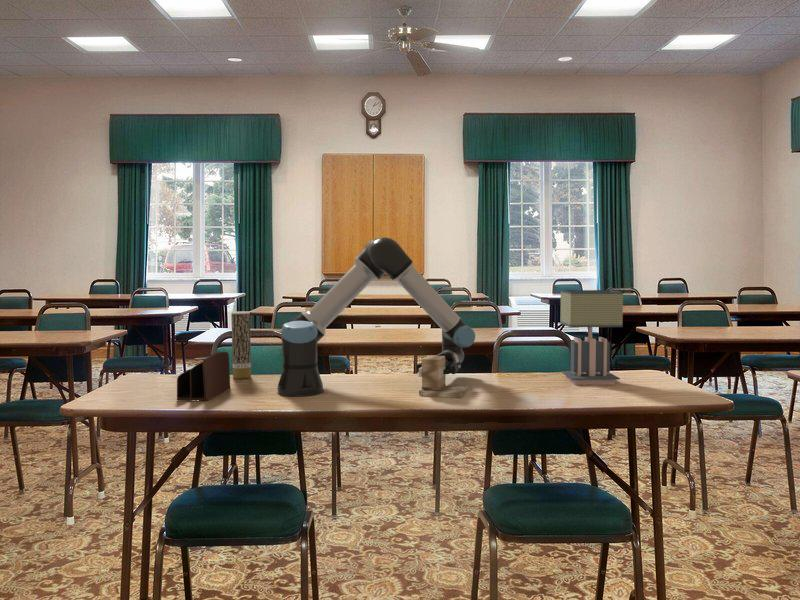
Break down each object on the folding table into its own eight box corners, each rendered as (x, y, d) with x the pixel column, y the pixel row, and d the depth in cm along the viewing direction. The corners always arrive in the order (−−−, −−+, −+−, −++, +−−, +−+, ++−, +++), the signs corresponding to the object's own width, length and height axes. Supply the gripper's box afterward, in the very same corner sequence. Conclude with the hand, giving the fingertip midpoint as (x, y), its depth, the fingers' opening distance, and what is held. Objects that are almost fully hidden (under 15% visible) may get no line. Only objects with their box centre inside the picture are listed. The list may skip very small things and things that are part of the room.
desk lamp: (608, 377, 232) (609, 290, 230) (622, 385, 218) (623, 292, 216) (559, 377, 232) (560, 290, 230) (569, 385, 218) (570, 292, 216)
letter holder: (230, 389, 216) (229, 349, 215) (206, 402, 196) (205, 358, 196) (203, 388, 217) (202, 348, 216) (176, 401, 198) (175, 357, 197)
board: (418, 395, 203) (418, 390, 203) (427, 388, 214) (427, 384, 214) (461, 398, 199) (461, 393, 199) (467, 391, 209) (467, 386, 209)
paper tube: (231, 377, 237) (229, 311, 236) (248, 375, 241) (247, 311, 239) (235, 380, 231) (233, 313, 230) (253, 378, 235) (251, 312, 233)
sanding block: (422, 389, 204) (421, 359, 204) (428, 384, 212) (427, 355, 211) (439, 390, 203) (439, 359, 202) (445, 385, 210) (445, 355, 210)
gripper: (472, 373, 221) (458, 386, 199) (420, 371, 227) (401, 383, 205) (472, 352, 221) (458, 363, 199) (420, 350, 227) (401, 360, 205)
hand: (429, 373), depth 202 cm, fingers closed on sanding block, 6 cm apart
